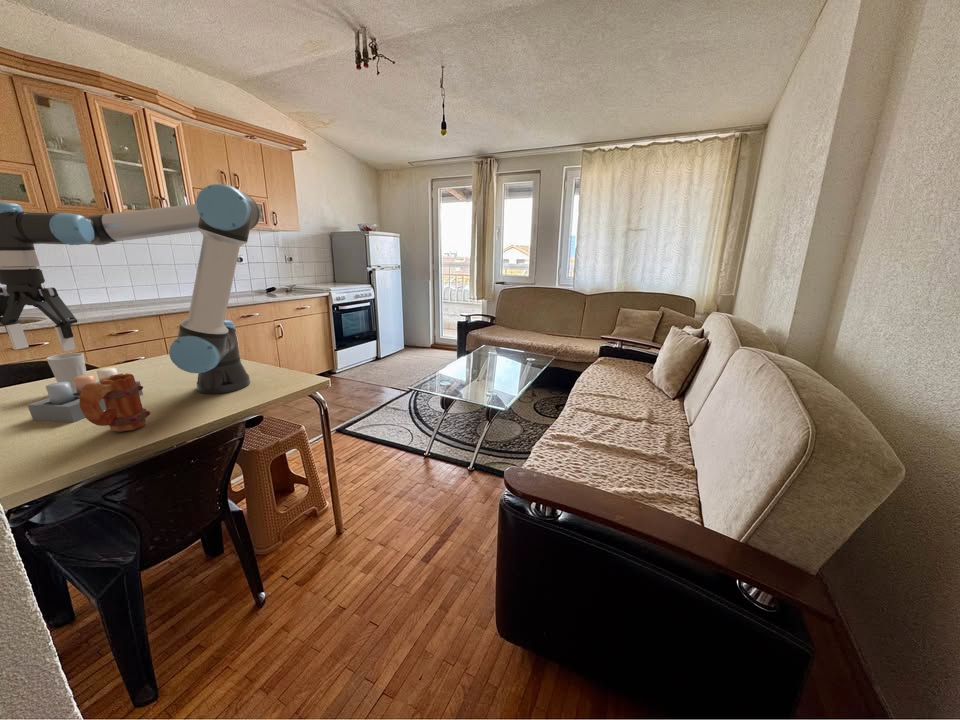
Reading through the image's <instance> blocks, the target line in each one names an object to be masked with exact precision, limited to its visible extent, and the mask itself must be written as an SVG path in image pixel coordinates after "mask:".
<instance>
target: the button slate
mask: <svg viewBox="0 0 960 720" xmlns="http://www.w3.org/2000/svg"><path fill="white" fill-rule="evenodd" d="M45 389H46V391H47V395H48V398H50V401H51V404H53V405H57V404H64V403H68V402H71V401H74V400H75V398H74V395H73V392H72V389H71V386H70V383H69V382H58V383H57V382H54V383H50V384H48V385H46V386H45Z"/></svg>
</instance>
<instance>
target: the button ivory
mask: <svg viewBox="0 0 960 720" xmlns="http://www.w3.org/2000/svg"><path fill="white" fill-rule="evenodd" d="M96 374H97V377H98V378H97V379H98V380H99V381H100V380H101V379H102V378H106V377H110V376H111V375H117V374H119V373H118V369H117V367H105V368H100V369H97V370H96ZM99 381H98V382H99Z"/></svg>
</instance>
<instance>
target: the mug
mask: <svg viewBox="0 0 960 720" xmlns="http://www.w3.org/2000/svg"><path fill="white" fill-rule="evenodd" d="M135 381H136V379H135V376H134V375H133V374H131V373H129V372H128V373H118V374H117V375H111V376H110V377H106V378H102V379H101V380H100V384H98V383H89V384H86V385H85V386H84V387H83V388H82V391H81V394H80V408H81V411H82V413H83V414H84V416H85V419H86V421H89V422H90V423H92V424H93V425H96V426H100V427H101V426H102V427H108V426H109V428H110V431H112V432H119V433H120V432H122V433H123V432H129V431H134V430H138V429H140V428H142V427H144V426H145V425H146V422H147V421H146V420H147V419H146V418H147V417H149V416H150V415H151V411H149V410H147V409H146V408H143V403H142V401H141V397H140V396H141V395H140V396H139V391H140V390H142V391H143V390H144V386H143V385H141V386H140V385H139V384H138V383H136V382H135ZM101 399H104V403H105V406H106V409H105V410H102V409H101V407H100V405H99V402H100V401H101Z"/></svg>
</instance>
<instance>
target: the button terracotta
mask: <svg viewBox="0 0 960 720" xmlns="http://www.w3.org/2000/svg"><path fill="white" fill-rule="evenodd" d="M96 379H97V378H96V376H95V374H93V373H92V374H91V373H87V374H86V375H80V376H76V377H74V378H73V381H74V385H75V388H76V391H77V394H78V395H80V394H81V391H82V388H83V387H84V386H85V385H86V384H89V383H97V382H98V381H97V380H96Z"/></svg>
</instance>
